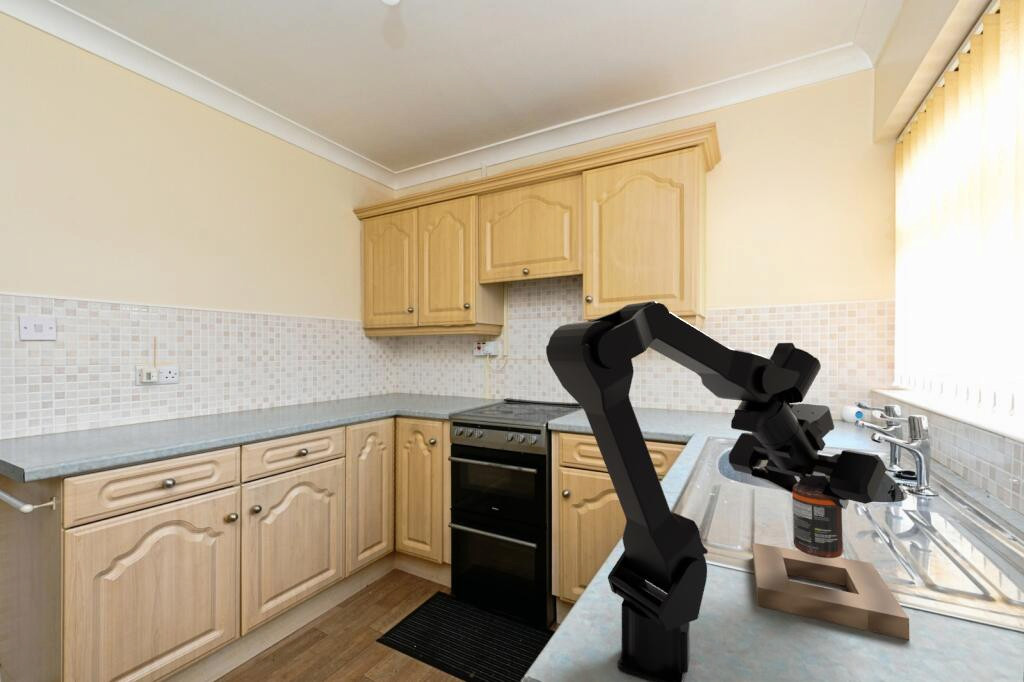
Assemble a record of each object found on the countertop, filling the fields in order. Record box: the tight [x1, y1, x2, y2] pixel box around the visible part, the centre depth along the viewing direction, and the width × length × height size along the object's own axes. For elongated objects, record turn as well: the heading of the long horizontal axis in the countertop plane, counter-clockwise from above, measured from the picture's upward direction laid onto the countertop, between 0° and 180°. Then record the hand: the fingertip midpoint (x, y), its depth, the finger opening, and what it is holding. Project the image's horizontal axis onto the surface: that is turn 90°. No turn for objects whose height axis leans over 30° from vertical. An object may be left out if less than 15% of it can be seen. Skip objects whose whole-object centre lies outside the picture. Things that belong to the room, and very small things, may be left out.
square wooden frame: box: [752, 542, 910, 640], centre depth 65 cm, size 16×16×2 cm
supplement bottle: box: [791, 472, 844, 558], centre depth 65 cm, size 6×6×11 cm
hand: (821, 499), depth 65 cm, fingers closed on supplement bottle, 6 cm apart
